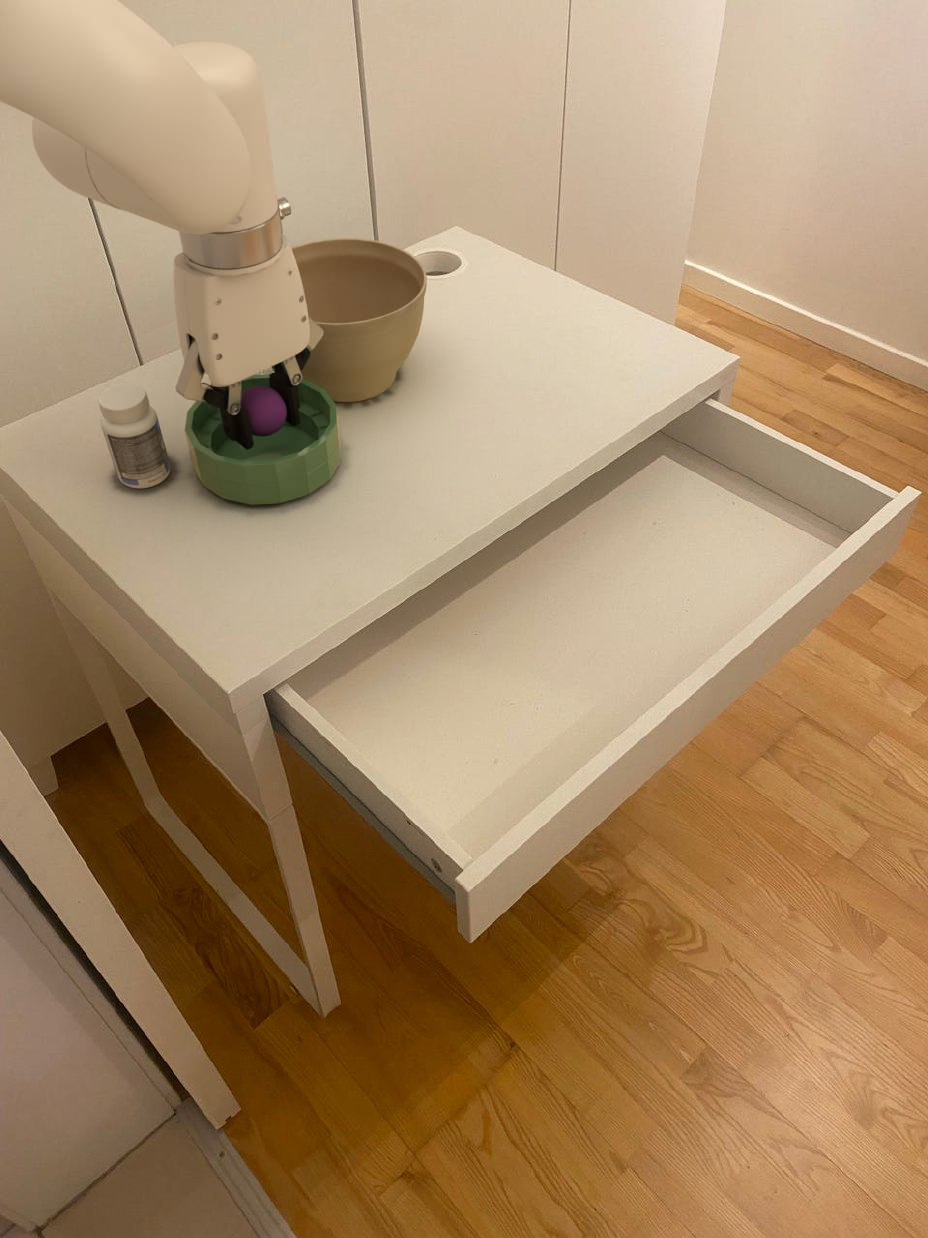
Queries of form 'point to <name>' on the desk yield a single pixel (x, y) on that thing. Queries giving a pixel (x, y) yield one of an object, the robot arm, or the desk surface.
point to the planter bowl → (360, 313)
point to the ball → (264, 410)
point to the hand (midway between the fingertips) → (264, 428)
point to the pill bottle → (133, 435)
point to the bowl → (267, 450)
